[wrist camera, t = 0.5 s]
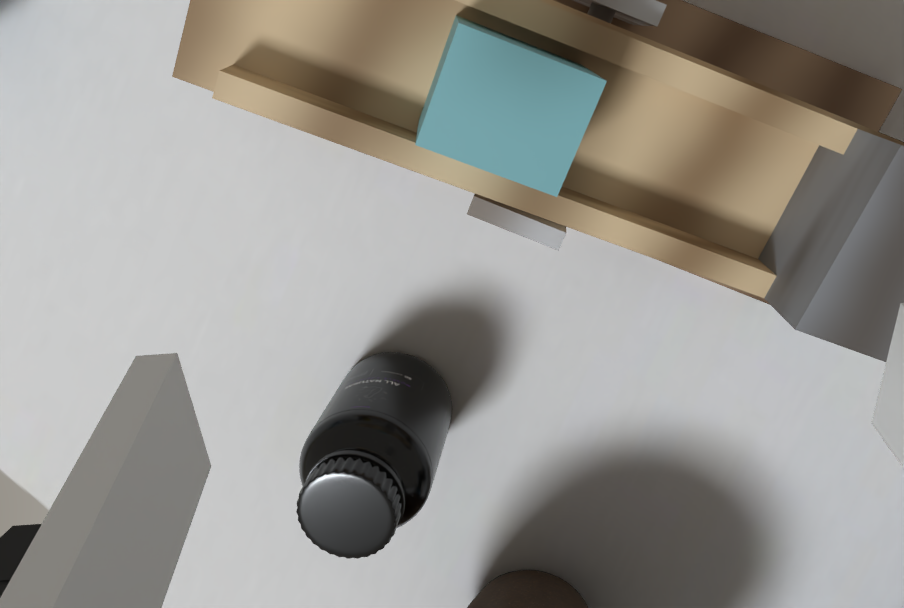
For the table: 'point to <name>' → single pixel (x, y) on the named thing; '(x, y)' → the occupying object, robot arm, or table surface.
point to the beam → (601, 145)
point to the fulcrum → (733, 49)
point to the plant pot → (528, 592)
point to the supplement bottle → (373, 454)
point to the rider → (507, 107)
